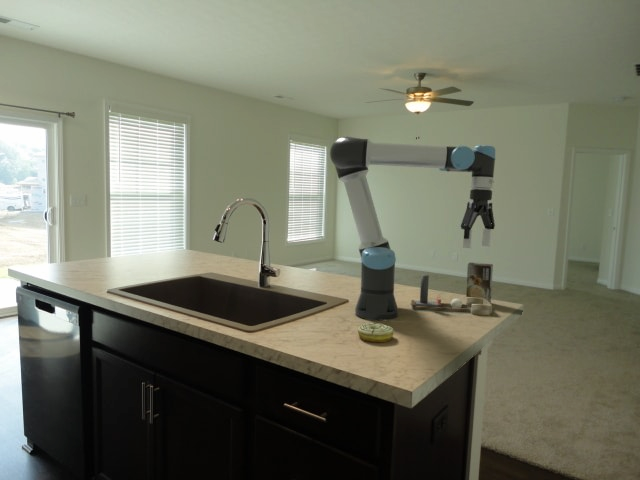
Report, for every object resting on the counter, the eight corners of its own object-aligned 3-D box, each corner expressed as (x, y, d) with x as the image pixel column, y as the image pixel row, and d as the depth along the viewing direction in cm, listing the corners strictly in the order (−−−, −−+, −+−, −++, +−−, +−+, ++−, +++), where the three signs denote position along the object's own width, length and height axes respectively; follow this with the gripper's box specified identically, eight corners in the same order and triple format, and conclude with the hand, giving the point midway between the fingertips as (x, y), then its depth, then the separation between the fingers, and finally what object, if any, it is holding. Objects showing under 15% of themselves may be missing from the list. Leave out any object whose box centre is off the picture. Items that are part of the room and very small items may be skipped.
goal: (471, 314, 164) (472, 304, 163) (465, 305, 175) (466, 297, 175) (491, 315, 163) (492, 305, 162) (484, 306, 174) (485, 298, 174)
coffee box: (491, 303, 181) (494, 264, 180) (489, 307, 176) (492, 266, 174) (467, 300, 185) (470, 262, 184) (465, 304, 180) (467, 264, 178)
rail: (412, 309, 168) (412, 304, 168) (411, 304, 176) (411, 299, 176) (470, 312, 166) (470, 307, 165) (466, 307, 173) (466, 302, 173)
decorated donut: (379, 331, 143) (379, 319, 142) (400, 341, 133) (400, 328, 133) (351, 335, 138) (351, 323, 138) (370, 346, 129) (371, 333, 128)
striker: (415, 307, 170) (417, 276, 168) (415, 304, 174) (416, 274, 173) (440, 309, 168) (442, 277, 167) (439, 306, 173) (440, 275, 172)
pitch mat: (412, 311, 167) (412, 310, 167) (410, 304, 178) (410, 303, 178) (491, 315, 163) (491, 314, 163) (484, 307, 174) (484, 307, 174)
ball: (451, 310, 168) (452, 299, 168) (449, 307, 172) (450, 297, 172) (462, 310, 168) (463, 300, 167) (460, 308, 172) (461, 297, 171)
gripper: (473, 188, 154) (468, 250, 156) (507, 190, 170) (502, 246, 173) (453, 187, 159) (448, 247, 161) (488, 190, 176) (483, 244, 178)
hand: (476, 247), depth 167 cm, fingers open, 13 cm apart
